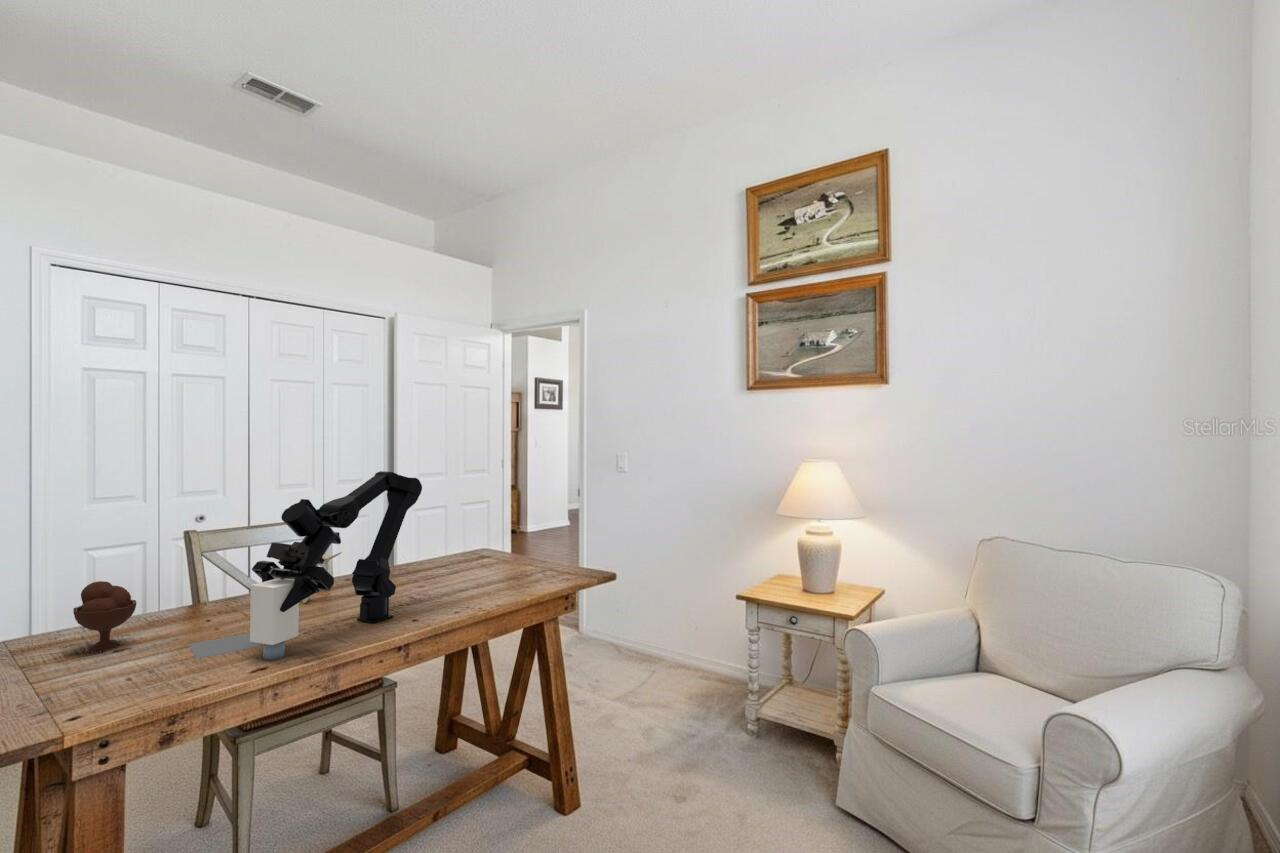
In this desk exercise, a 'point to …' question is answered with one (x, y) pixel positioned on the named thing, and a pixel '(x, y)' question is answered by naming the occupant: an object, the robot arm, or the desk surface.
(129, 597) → the ice cream bowl
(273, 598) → the rectangular block
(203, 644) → the mat
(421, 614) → the desk surface
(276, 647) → the light blue cylinder
